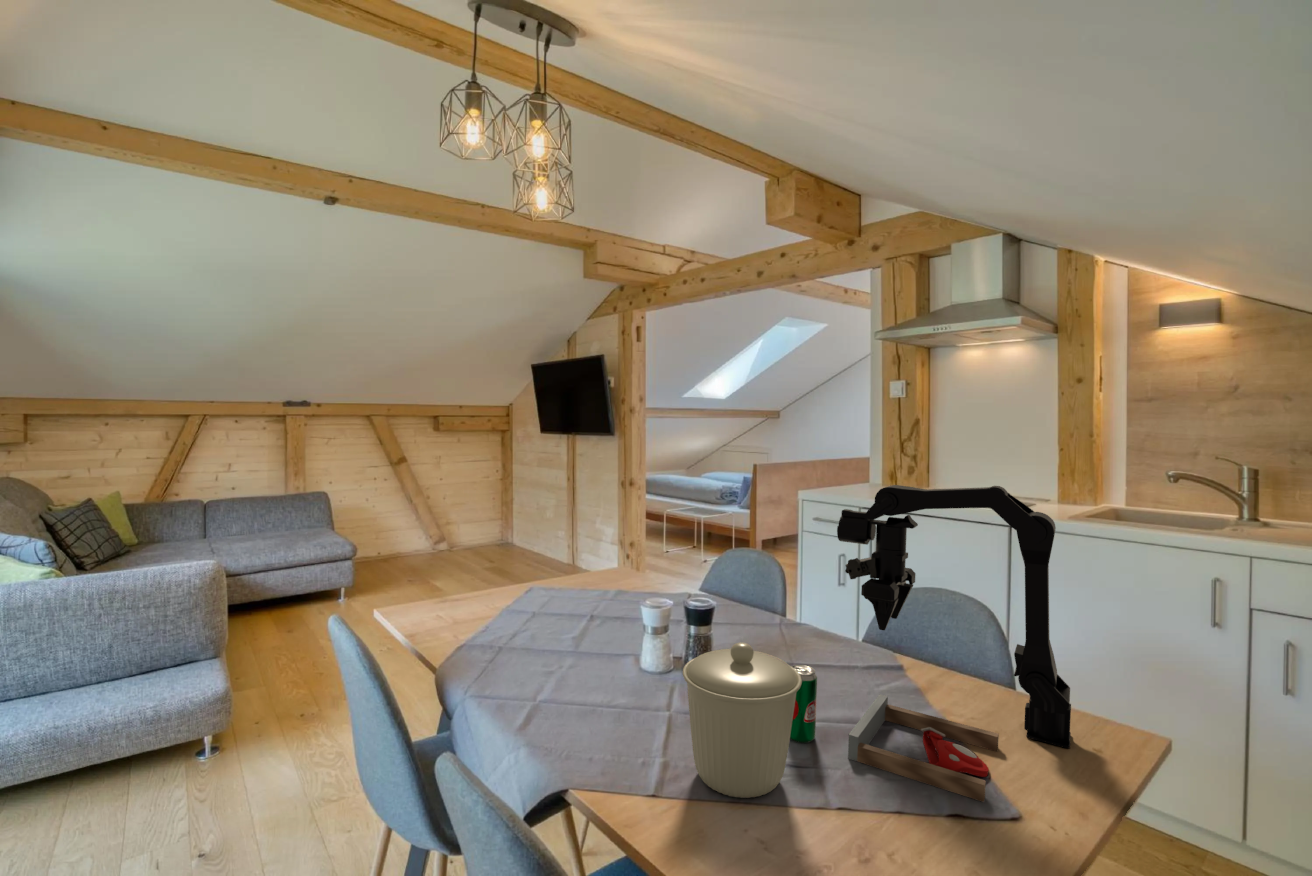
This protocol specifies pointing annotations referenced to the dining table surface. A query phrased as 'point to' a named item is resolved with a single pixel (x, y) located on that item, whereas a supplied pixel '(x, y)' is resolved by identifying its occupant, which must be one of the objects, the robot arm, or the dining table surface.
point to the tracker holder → (951, 754)
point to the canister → (740, 718)
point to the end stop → (867, 726)
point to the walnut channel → (925, 770)
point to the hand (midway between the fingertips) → (888, 623)
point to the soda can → (805, 706)
